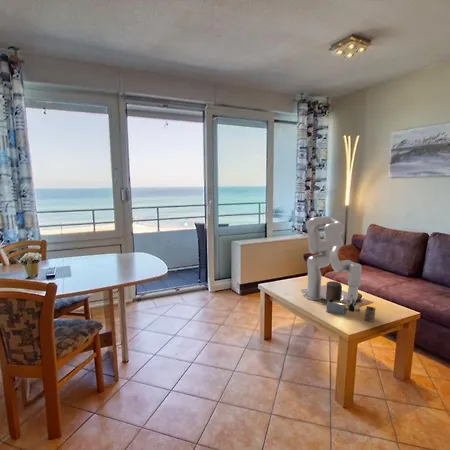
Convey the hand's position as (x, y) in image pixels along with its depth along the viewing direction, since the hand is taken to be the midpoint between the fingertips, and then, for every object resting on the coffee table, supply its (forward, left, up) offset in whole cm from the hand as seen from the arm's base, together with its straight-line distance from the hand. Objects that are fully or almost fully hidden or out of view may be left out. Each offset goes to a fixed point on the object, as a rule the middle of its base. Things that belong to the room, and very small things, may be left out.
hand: (351, 309), depth 193 cm
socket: (+10, 0, -4) cm, 11 cm away
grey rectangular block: (-10, 0, -4) cm, 10 cm away
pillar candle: (-15, +16, -4) cm, 22 cm away
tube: (-4, 0, -1) cm, 4 cm away
